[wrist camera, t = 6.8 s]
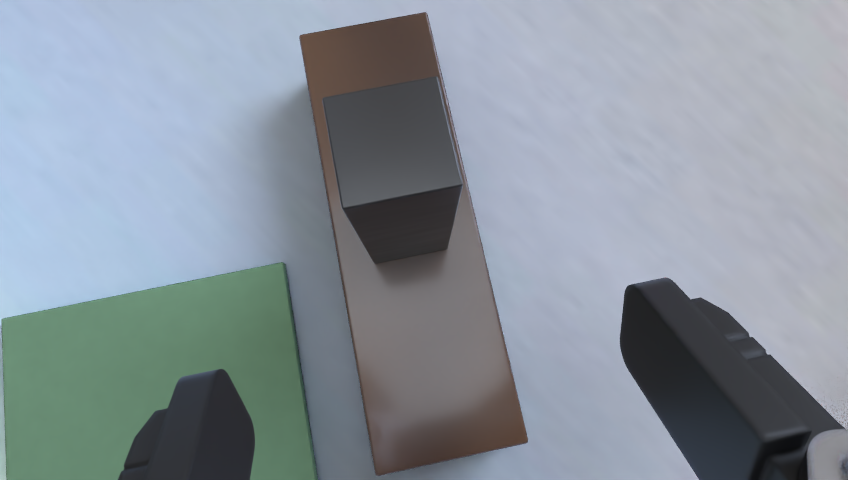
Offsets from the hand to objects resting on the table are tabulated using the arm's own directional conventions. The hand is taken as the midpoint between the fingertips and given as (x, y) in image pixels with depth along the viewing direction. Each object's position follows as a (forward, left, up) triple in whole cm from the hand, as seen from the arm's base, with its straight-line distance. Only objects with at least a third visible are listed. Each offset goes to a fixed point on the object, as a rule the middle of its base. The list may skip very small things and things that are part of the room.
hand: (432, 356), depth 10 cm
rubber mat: (-10, -1, -10) cm, 14 cm away
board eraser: (0, +5, -10) cm, 11 cm away
